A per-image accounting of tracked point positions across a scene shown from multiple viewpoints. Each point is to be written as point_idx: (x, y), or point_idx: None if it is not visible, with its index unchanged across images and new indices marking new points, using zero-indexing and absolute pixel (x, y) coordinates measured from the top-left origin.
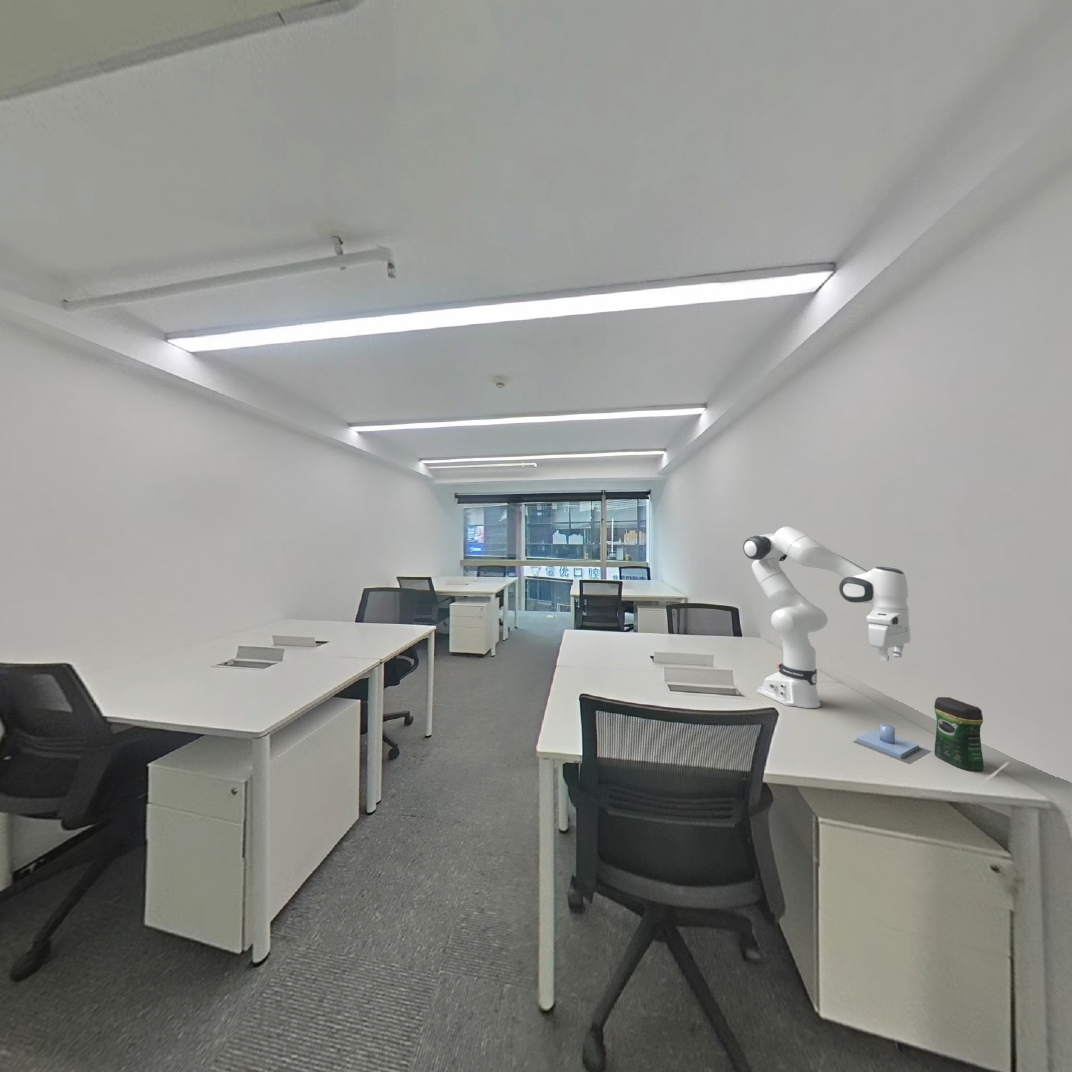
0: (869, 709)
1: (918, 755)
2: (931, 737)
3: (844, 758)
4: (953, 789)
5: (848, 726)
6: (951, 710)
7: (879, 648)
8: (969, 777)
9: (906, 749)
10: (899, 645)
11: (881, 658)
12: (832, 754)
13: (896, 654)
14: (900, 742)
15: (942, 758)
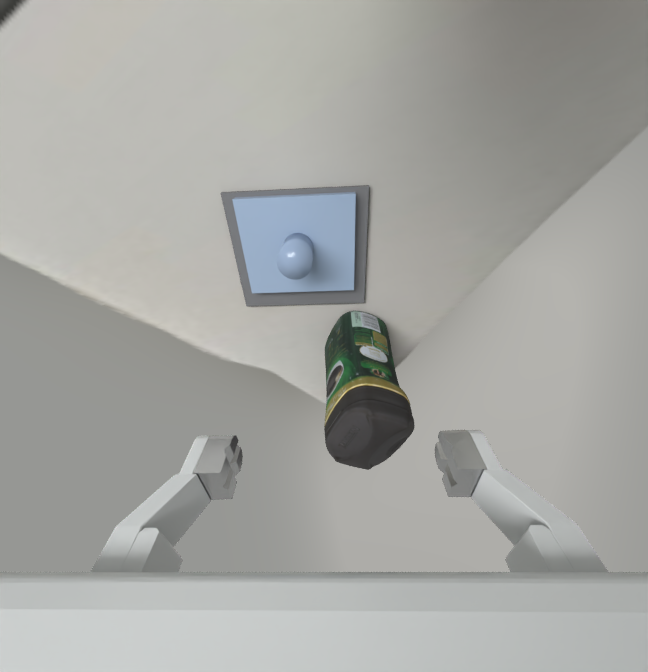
0: (629, 37)
1: (310, 298)
2: (471, 268)
3: (122, 228)
4: (237, 360)
5: (337, 108)
6: (327, 429)
7: (111, 553)
8: (310, 358)
9: (294, 288)
10: (517, 562)
11: (193, 451)
12: (104, 203)
13: (448, 460)
14: (322, 267)
15: (333, 328)
